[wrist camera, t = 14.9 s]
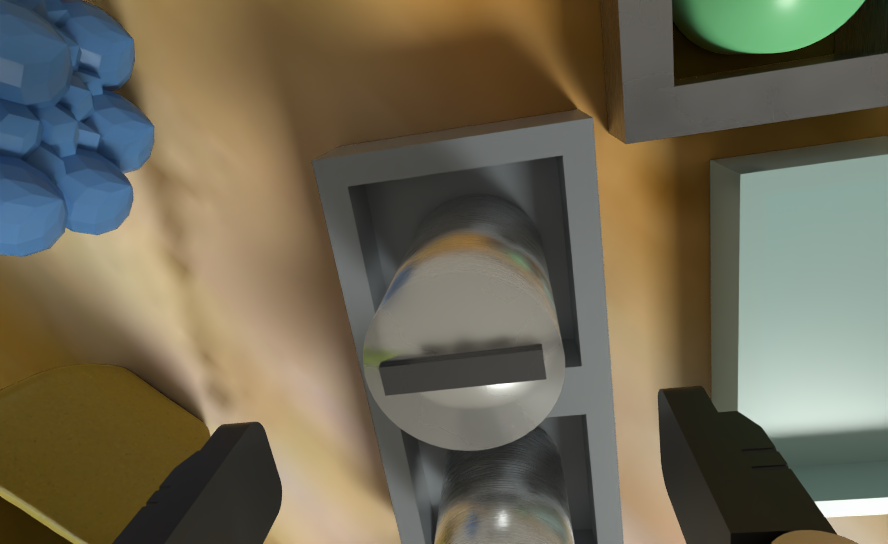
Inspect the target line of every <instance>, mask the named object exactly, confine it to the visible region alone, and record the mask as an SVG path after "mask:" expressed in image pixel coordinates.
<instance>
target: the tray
mask: <svg viewBox="0 0 888 544" xmlns="http://www.w3.org/2000/svg"><path fill="white" fill-rule="evenodd" d="M710 256H711V401H712V403H713V405H714V406H715V408H716V410H717V411H718V412H728V411H738V412H740V413H741V414H743V415H744V416H746V417H747V418H749V419H750V420H752V421H753V422H755V423H756V424H758V425H759V426H761V427H762V428H763V430H764V431H765V432H766V434H767V435H768V437H769V438H770V440H771V441H772V442H773V444H774V445H775V447H776V450H777V451H779V452H780V454H781V455H782V457H783V458H784V460H785V461H786V462H787V464H788V468H789V469H792V471H793V472H794V474H795V475H796V477H797V478H798V479H799V481H800V482H801V484H802V485H803V487H804V488H805V489H806V491H807V492H808V494H809V495H810V496H811V498H812V499H813V501H814V502H815V504H816V505H817V506H818V508H819V509H820V511H821V512H822V514H823V515H824V516H825V517H842V516H860V515H878V514H888V135H887V136H880V137H873V138H866V139H859V140H851V141H844V142H837V143H830V144H823V145H816V146H808V147H801V148H794V149H787V150H780V151H772V152H765V153H758V154H751V155H744V156H737V157H729V158H722V159H715V160H710Z"/></svg>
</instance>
